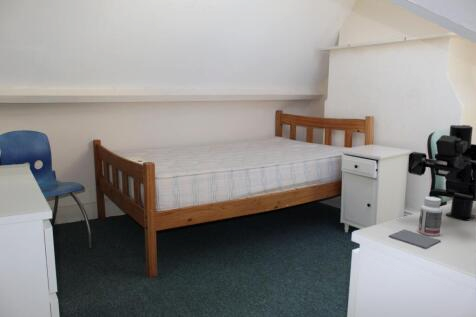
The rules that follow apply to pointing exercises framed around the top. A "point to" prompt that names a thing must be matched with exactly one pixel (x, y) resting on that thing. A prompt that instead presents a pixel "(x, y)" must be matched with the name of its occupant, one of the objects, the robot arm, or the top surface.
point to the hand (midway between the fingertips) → (428, 173)
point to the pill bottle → (430, 217)
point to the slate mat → (415, 239)
